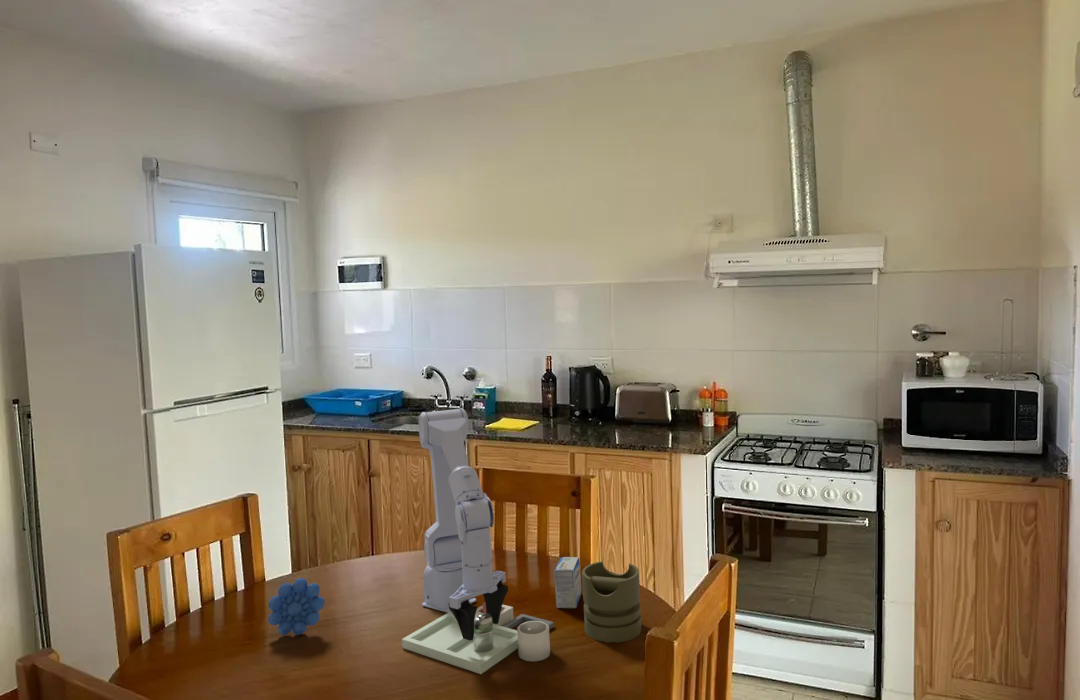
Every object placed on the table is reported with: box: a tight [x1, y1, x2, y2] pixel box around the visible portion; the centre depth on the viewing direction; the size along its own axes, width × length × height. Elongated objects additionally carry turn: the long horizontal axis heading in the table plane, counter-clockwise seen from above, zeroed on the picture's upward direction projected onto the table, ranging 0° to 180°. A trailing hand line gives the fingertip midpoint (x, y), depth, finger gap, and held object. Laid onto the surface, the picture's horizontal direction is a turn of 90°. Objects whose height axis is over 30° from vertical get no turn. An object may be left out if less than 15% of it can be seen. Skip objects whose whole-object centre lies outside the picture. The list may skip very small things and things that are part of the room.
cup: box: [516, 621, 551, 662], centre depth 139 cm, size 6×6×5 cm
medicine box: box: [553, 556, 582, 609], centre depth 161 cm, size 8×4×9 cm, turn 168°
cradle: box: [503, 613, 555, 631], centre depth 149 cm, size 8×8×1 cm
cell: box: [472, 613, 494, 653], centre depth 141 cm, size 4×4×6 cm
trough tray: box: [401, 612, 518, 675], centre depth 144 cm, size 20×14×2 cm
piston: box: [581, 560, 642, 643], centre depth 147 cm, size 11×12×11 cm
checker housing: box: [476, 604, 515, 626], centre depth 152 cm, size 6×6×3 cm
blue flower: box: [267, 577, 326, 636], centre depth 152 cm, size 12×7×12 cm, turn 94°
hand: (481, 630), depth 141 cm, fingers open, 7 cm apart
